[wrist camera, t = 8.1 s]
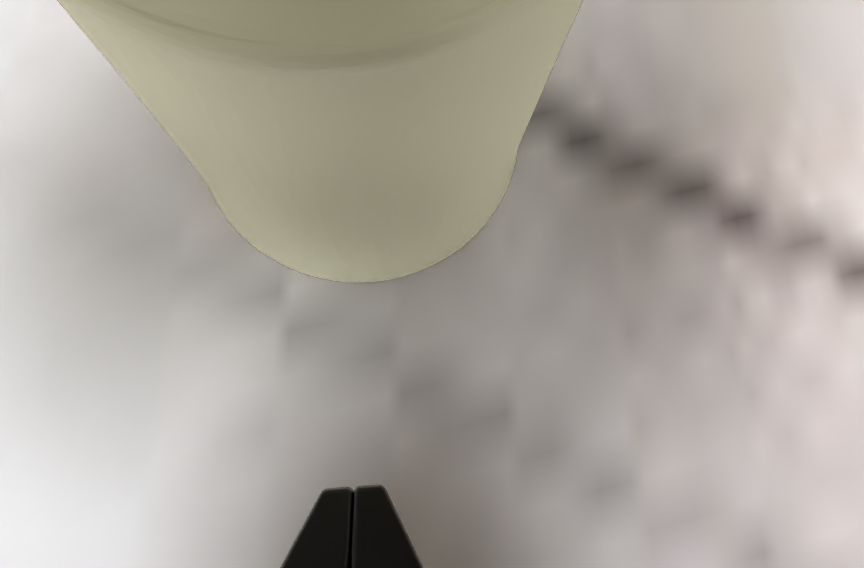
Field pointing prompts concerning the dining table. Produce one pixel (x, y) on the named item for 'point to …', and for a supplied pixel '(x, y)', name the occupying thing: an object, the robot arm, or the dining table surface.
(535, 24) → the can
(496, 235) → the dining table surface
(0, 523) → the dining table surface
